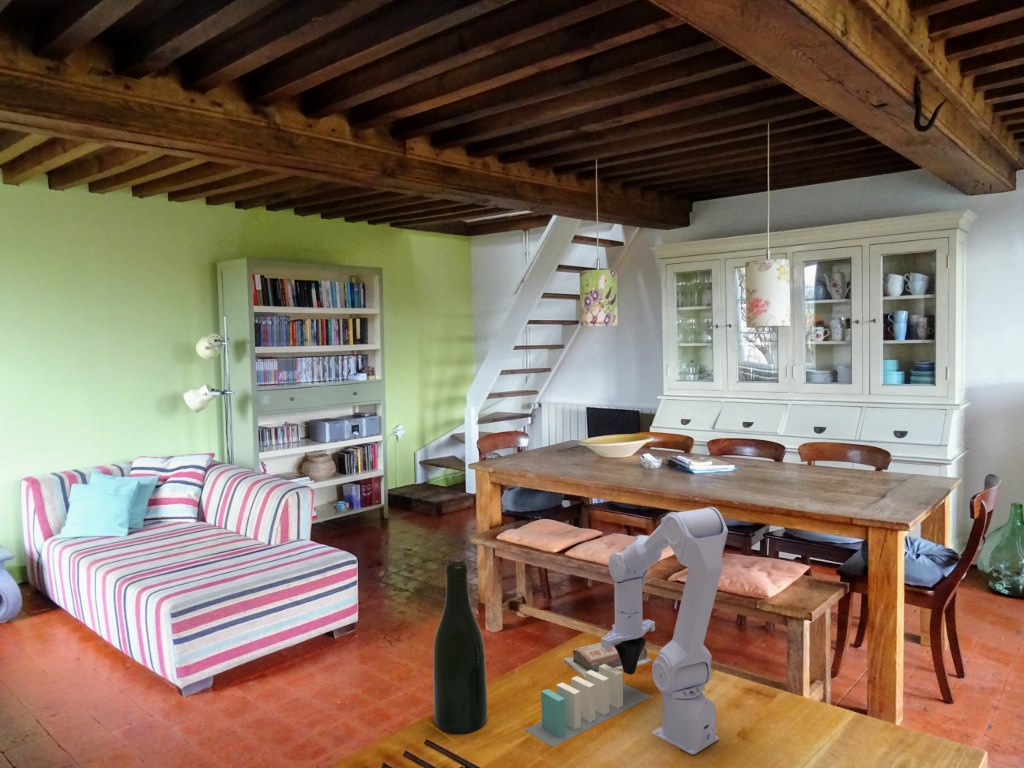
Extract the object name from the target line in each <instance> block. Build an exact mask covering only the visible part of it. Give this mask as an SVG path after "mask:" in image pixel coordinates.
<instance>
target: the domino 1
mask: <svg viewBox="0 0 1024 768" xmlns="http://www.w3.org/2000/svg"><path fill="white" fill-rule="evenodd" d="M540 694H541V696H540V697H541V700H540V701H541V721H542V727H544V728H545V729H547V730H548V731H550V732H551V733H553V734H554V735H556V736H558V737H561V736H563V735H565V698H563V697H561V696H559V695H558V694H557V692H554V691H552V690H550V689H549V688H546V689H544V690H541V692H540Z"/></svg>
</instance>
